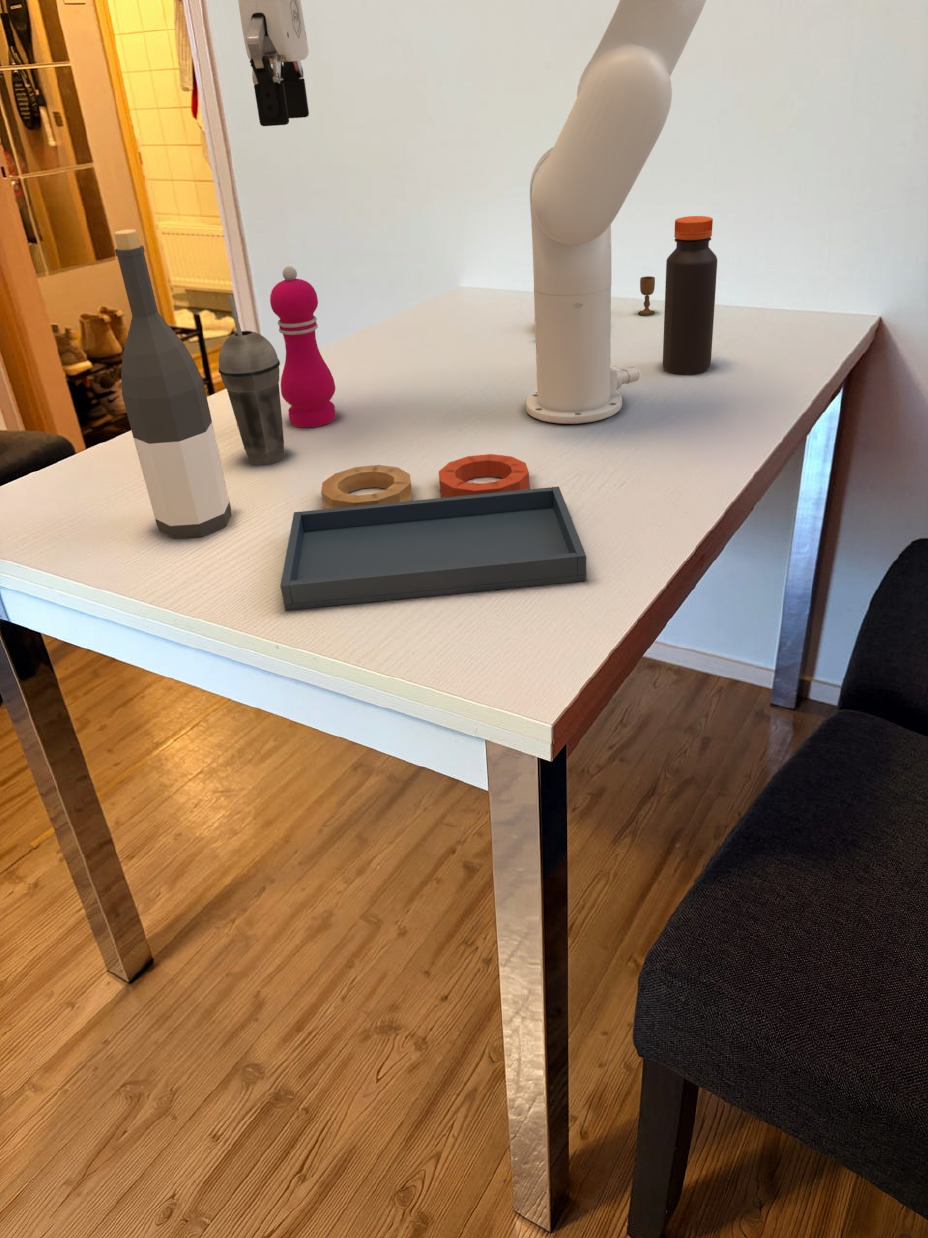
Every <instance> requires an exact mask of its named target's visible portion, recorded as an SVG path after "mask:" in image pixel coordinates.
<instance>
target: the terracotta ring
mask: <svg viewBox="0 0 928 1238" xmlns="http://www.w3.org/2000/svg"><path fill="white" fill-rule="evenodd" d="M484 477H485V478H486V477H493V478H501V479H499V480H495V481H490V482H480V483H479V482H469V480H472V479H474V478H475V479H476V478H484ZM438 479H439V489H440V491H439V492H440V498H446V497H456V496H466V495H477V494H487V493H497V492H508V491H518V490H528V489H530V471H529V469H528V465H527V463H526V462H525V461H523V460H520V459H518V458H516V457H514V456H511V455H502V454H494V453H488V454H478V455H468V456H465V457H461V458H458V459H455V460H452V461H450V462H448V463H447V464H446V465H444V466H443V467H442V468H441V469H440V470H438Z"/></svg>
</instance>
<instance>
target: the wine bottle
mask: <svg viewBox="0 0 928 1238" xmlns="http://www.w3.org/2000/svg"><path fill="white" fill-rule="evenodd" d="M113 237H114V240H115V245H116V248H114V252H115V256H116V257H117V261H118V265H119V268H120V273H121V276H122V277H121V278H122V280H123V284H124V289H125V292H126V296H127V301H128V305H129V308H130V313H131V319H130V320H131V321H130V325H129V330H128V333H127V335H126V336H127V337H126V340H125V344H124V348H123V351H122V360H121V371H120V380H121V381H120V382H121V383H120V384H121V397H122V400H123V404H124V408H125V412H126V415H127V420H128V423H129V426H130V430H131V434H132V438H133V442H134V446H135V449H136V453H137V457H138V460H139V464H140V468H141V472H142V476H143V480H144V483H145V486H146V490H147V494H148V498H149V501H150V505H151V510H152V513H153V517H154V520H155V523H156V526H157V529H158V531H159V532H160V533H162V534H164V535H166V536H168V537H170V538H172V539H174V540H176V539H188V538H189V539H190V538H203V537H205V536H207V535H210V534H213V533H214V532H216V531H219V530H221V529H223V528H225V527H227V525H228V523H229V520H230V519H231V516H232V505H231V501H230V496H229V492H228V488H227V484H226V479H225V475H224V469H223V466H222V461H221V455H220V450H219V447H218V442H217V439H216V433H215V428H214V424H213V420H212V415H211V410H210V406H209V400H208V396H207V391H206V387H205V383H204V379H203V376H202V374H201V372H200V370H199V368H198V365H197V364H196V362H195V359H194V358H193V356H192V354H191V353H190V351H189V350H188V348H187V347H186V344H185V343H184V342H183V340H182V339H181V338H180V337H179V335H178V334H177V333H176V332H175V330H173V329H172V327H171V326H170V325H169V324H168V323H167V322H166V320H165V319H164V318H163V317H162V315H161V314H160V313H159V310H158V306H157V301H156V297H155V294H154V293H155V292H154V289H153V284H152V281H151V277H150V272H149V268H148V263H147V260H146V254H145V253H146V251H145V247H144V245H141V242H140V238H139V234H138V231H137V229H133V228H128V229H121V230H117V231H115V232H113Z"/></svg>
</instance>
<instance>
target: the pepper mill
mask: <svg viewBox="0 0 928 1238" xmlns="http://www.w3.org/2000/svg"><path fill="white" fill-rule="evenodd" d="M297 276H298V272H297V270H296V269H295V268H294V267H293V266H289V265H288V266H285V267H284V268H283V270H282V277H283V279H284V280H283V279H282V280H281V281H279V282H278V283H276V284H275V285H274V286H273V287H272V290H271V292H270V297H269V303H270V308H271V311H272V312H273V313H274V315H276V316H277V317H278V318H279V319H278V321H277V325H278V327H279V328H278V332H279V333H280V334H282V336H283V339H284V345H285V346H284V348H285V361H284V364H283V365H284V366H283V370H282V373H281V377H280V395H281V397H282V399H283V400H284V401H285V402H286V403H287V404H288V405H290V406H289V408H288V411H287V412H288V418H289V422H290V424H291V425H292V426H294V427H297V428H306V429H307V428H317V427H322V426H326V425H327V424H330V423H332V422H333V421H334V420H336V417H337V414H336V407H335V404H334V403H333V401H331V400H332V398H333V396H334V395H335V392H336V383H335V378H334V376H333V374H332V372H331V370H330V368H329V366H328V365H327V363H326V361H325V359H324V358H323V356H322V354H321V352H320V350H319V347H318V343H317V338H316V337H317V336H316V330H317V329H318V327H319V325H318V323H317V319H318V318H317V317H316V316H315V315H314V314H315V312H316V310H317V308H318V306H319V305H318V304H319V298H318V294H317V292H316V290H315V287H314V286H313V285H312V284H311V283H310V282H308V281H307V280H305V279H302V278H297Z"/></svg>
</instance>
